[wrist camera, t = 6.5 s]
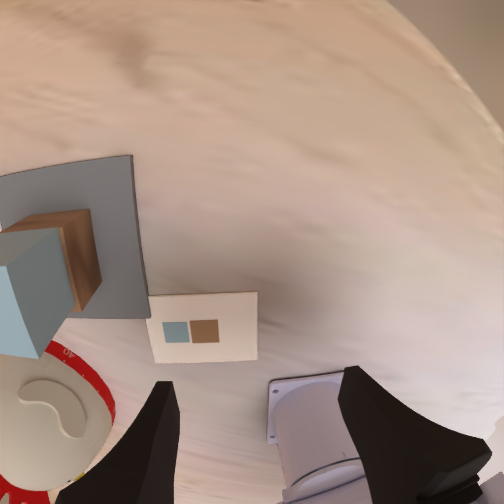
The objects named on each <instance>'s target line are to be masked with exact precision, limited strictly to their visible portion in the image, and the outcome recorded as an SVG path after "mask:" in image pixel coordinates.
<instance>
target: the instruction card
mask: <svg viewBox="0 0 504 504" xmlns="http://www.w3.org/2000/svg"><path fill="white" fill-rule="evenodd" d="M148 299H149V305H150V310H151V319H146V324H147V329H148V333H149V338H150V342H151V347H152V351H153V355H154V359H155V363H207V362H230V361H247V360H257V300H258V293H257V291H255V292H236V293H214V294H189V295H157V296H148Z"/></svg>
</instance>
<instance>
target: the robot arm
mask: <svg viewBox="0 0 504 504" xmlns="http://www.w3.org/2000/svg"><path fill="white" fill-rule="evenodd" d="M179 435H180V411H179V407H178V403H177V399H176V395H175V391H174V387H173V382H172V381H158V382H156V384H155V386H154V388H153V390H152V391H151V393H150V395H149V397H148V399H147V401H146V402H145V404H144V406H143V407H142V409H141V411H140V412H139V414H138V415H137V417H136V419H135V420H134V422H133V423H132V424H131V426H130V427H129V428H128V430H127V431H126V433H125V434H124V435H123V437H122V438H121V439H120V440H119V442H118V443H117V444H116V445H115V446H114V447H113V448H112V450H111V451H110V452H109V453H108V454H107V455H106V456H105V457H104V458H103V459H102V460H101V461H100V462H99V463H98V464H97V465H95V466H94V467H93V468H92V469H91V470H89V471H88V472H87V473H86V474H84V475H83V476H82V477H81V478H79V479H78V480H76V481H75V482H73V483H72V484H70V485H69V486H67V487H66V488H64V489H63V490H61V491H59V494H58V496H57V499H56V502H55V504H174V474H175V466H176V458H177V450H178V442H179ZM267 443H268V444H278V449H279V454H280V459H281V464H282V468H283V473H284V478H285V483H286V486H287V489H284V490H282V495H283V500H284V501H282V502H279V503H277V504H504V474H503V473H502V472H499V473H498V474H496V475H495V476H493V477H492V478H490V479H489V480H487V481H486V482H484V483H483V484H481V485H480V486H479V485H478V483H477V482H478V481H479V479H480V478H479V476H478V475H477V473H478V472H479V471H480V470H481V469H482V468H483V467H484V466H485V464H486V463H487V462H488V461H489V460H490V458H491V456H492V451H491V450H490V448H489V447H488V445H487V444H486V443H485V441H484V440H483V439H480V438H476V437H472V436H468V435H465V434H461V433H459V432H456V431H453V430H450V429H448V428H445V427H443V426H441V425H439V424H437V423H434V422H432V421H430V420H429V419H427V418H425V417H423V416H421V415H420V414H418V413H416V412H415V411H413V410H412V409H410V408H409V407H407V406H406V405H404V404H403V403H402V402H400V401H399V400H398V399H396V398H395V397H394V396H392V395H391V394H390V393H389V392H388V391H386V390H385V389H384V388H383V387H382V386H380V385H379V384H378V383H377V382H376V381H375V380H374V379H373V378H371V377H370V376H369V375H368V374H367V373H366V372H365V371H364V370H363V369H361V368H360V367H359V366H358V365H357V366H351V367H345V369H344V372H340V373H334V374H327V375H320V376H312V377H305V378H296V379H287V380H278V381H273V382H271V383H270V384H269V402H268V424H267Z"/></svg>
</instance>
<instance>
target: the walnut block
mask: <svg viewBox="0 0 504 504" xmlns="http://www.w3.org/2000/svg"><path fill="white" fill-rule="evenodd" d="M56 227H58V231H59V236H60V241H61V246H62V251H63V256H64V260H65V265H66V269H67V273H68V277H69V281H70V285H71V289H72V293H73V297H74V300H75V306H74V307H73V308H72V310H71V311H70V312H82V311H83V310H84V308H85V307H86V305H87V304H88V302H89V301H90V299H91V297H92V296H93V294H94V293H95V291H96V290H97V289H98V287H99V286H100V284H101V283H102V277H101V272H100V267H99V262H98V256H97V251H96V245H95V239H94V233H93V227H92V220H91V213H90V209H81V210H71V211H61V212H52V213H44V214H35V215H29V216H27V217H25V218H23V219H22V220H20V221H18V222H16V223H15V224H13V225H11V226H9V227H8V228H6V229H4V230H3V231H1V232H0V233H8V232H17V231H26V230H35V229H45V228H56Z"/></svg>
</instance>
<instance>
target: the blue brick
mask: <svg viewBox="0 0 504 504" xmlns="http://www.w3.org/2000/svg"><path fill="white" fill-rule="evenodd" d="M74 306H75V300H74V297H73V293H72V289H71V285H70V281H69V277H68V273H67V269H66V265H65V260H64V256H63V251H62V246H61V241H60V236H59V231H58V227H56V228H45V229H35V230H26V231H17V232H8V233H0V354H5V355H12V356H19V357H26V358H34V359H40V357H41V356H42V354H43V352H44V351H45V349H46V348H47V346H48V344H49V343H50V341H51V340H52V338H53V337H54V335H55V334H56V332H57V331H58V329H59V328H60V326H61V325H62V323H63V322H64V320H65V319H66V317H67V316H68V314H69V313H70V311H71V310H72V308H73V307H74Z"/></svg>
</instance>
